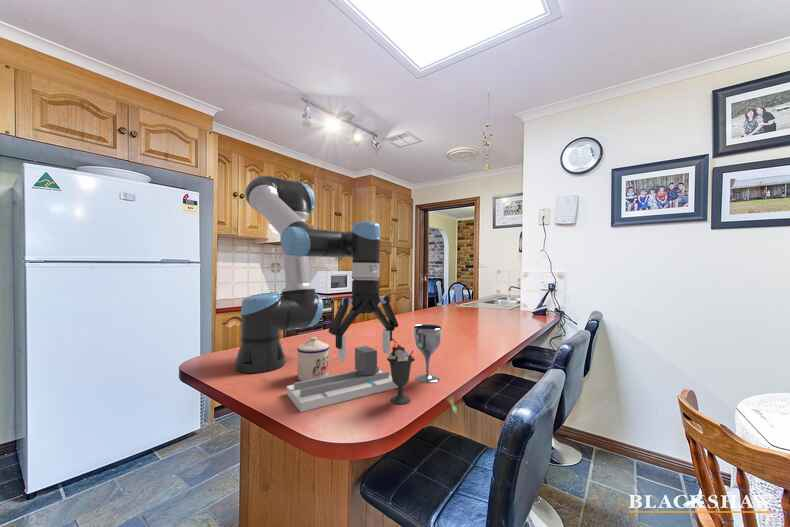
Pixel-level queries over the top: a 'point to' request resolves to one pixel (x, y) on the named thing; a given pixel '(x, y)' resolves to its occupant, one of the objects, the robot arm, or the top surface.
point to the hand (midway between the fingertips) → (364, 356)
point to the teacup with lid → (313, 359)
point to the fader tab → (365, 361)
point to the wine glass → (427, 347)
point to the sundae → (400, 371)
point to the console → (337, 389)
